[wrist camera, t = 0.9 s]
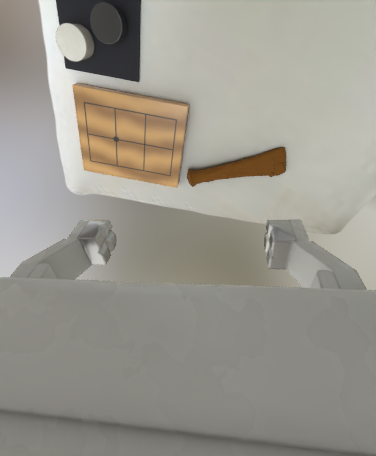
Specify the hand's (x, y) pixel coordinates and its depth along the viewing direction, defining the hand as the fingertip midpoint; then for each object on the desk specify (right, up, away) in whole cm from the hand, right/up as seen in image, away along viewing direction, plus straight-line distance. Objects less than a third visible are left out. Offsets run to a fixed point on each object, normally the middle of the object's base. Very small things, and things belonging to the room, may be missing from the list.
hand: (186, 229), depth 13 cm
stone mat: (-14, +30, +26) cm, 42 cm away
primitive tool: (+10, +13, +37) cm, 40 cm away
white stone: (-17, +30, +26) cm, 43 cm away
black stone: (-11, +31, +24) cm, 41 cm away
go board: (-11, +18, +36) cm, 41 cm away
